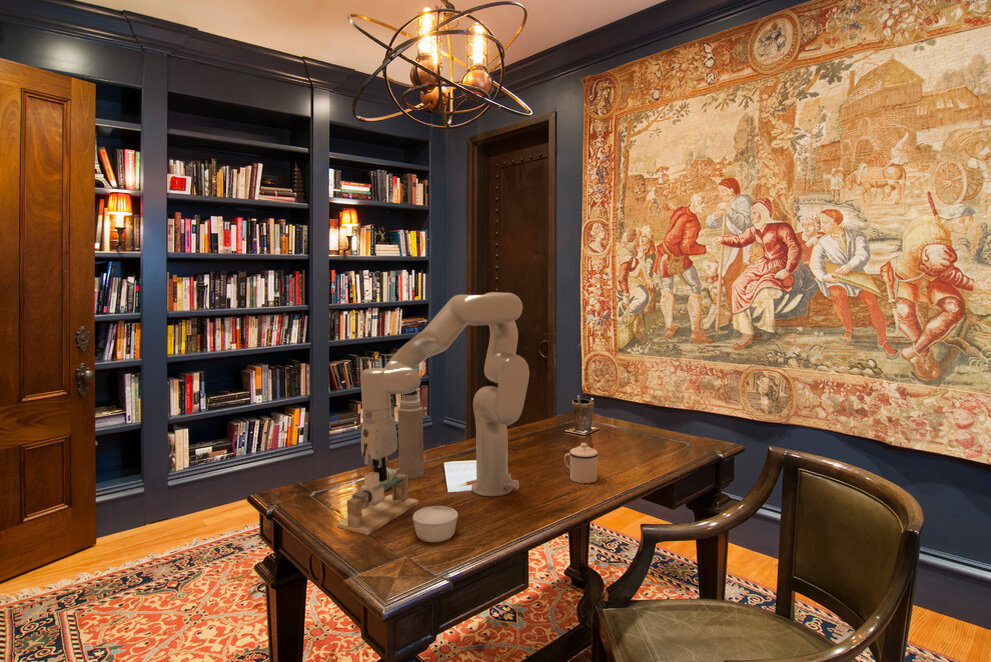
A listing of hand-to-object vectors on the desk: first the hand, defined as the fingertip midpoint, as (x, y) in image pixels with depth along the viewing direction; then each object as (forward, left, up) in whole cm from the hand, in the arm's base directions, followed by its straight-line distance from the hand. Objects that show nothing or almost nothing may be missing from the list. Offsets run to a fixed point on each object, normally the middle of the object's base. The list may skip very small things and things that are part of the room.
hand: (380, 480), depth 149 cm
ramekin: (-20, +4, -10) cm, 23 cm away
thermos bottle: (+11, -29, -10) cm, 33 cm away
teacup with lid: (-40, -50, -10) cm, 65 cm away
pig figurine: (+11, -15, -10) cm, 21 cm away
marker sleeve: (0, +4, -5) cm, 6 cm away
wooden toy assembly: (0, +1, -10) cm, 10 cm away
